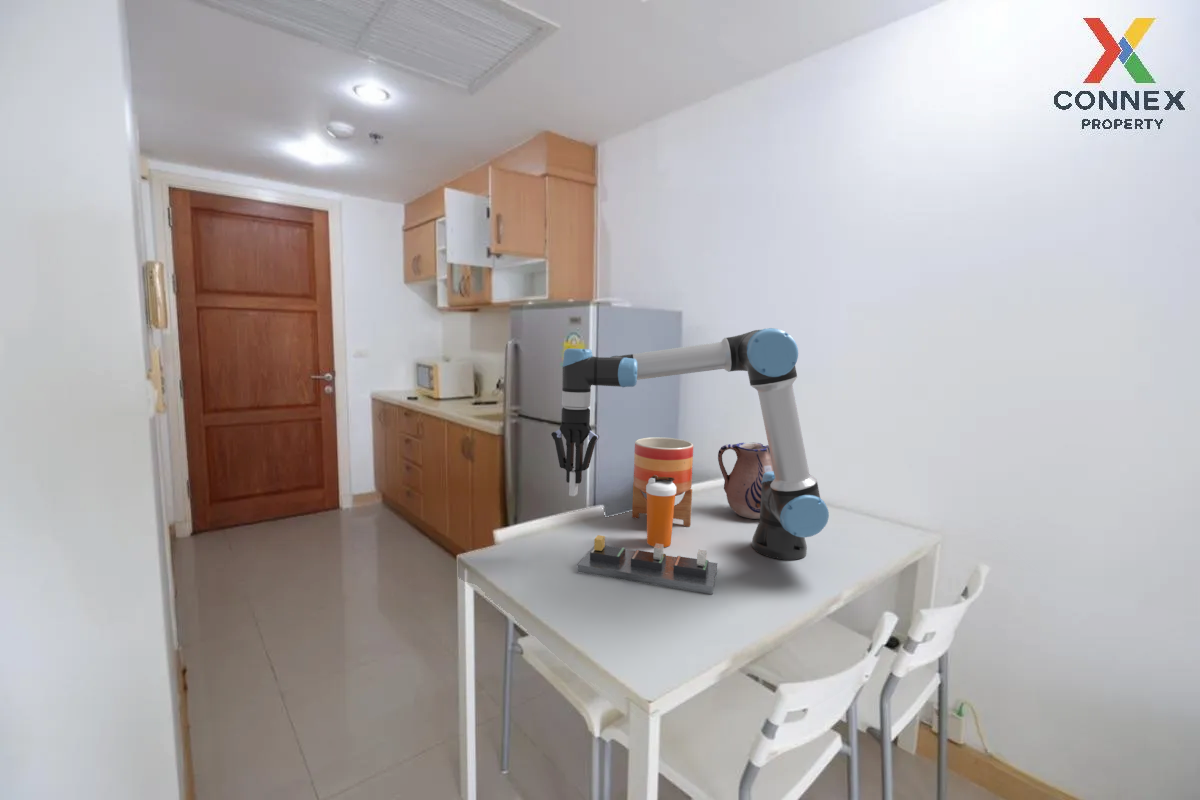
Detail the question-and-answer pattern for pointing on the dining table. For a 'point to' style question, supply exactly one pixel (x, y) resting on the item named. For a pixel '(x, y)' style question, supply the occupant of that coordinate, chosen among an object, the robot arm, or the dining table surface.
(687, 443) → the planter
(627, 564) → the breaker panel
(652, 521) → the shaker bottle
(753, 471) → the ceramic pitcher
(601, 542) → the toggle
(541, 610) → the dining table surface
